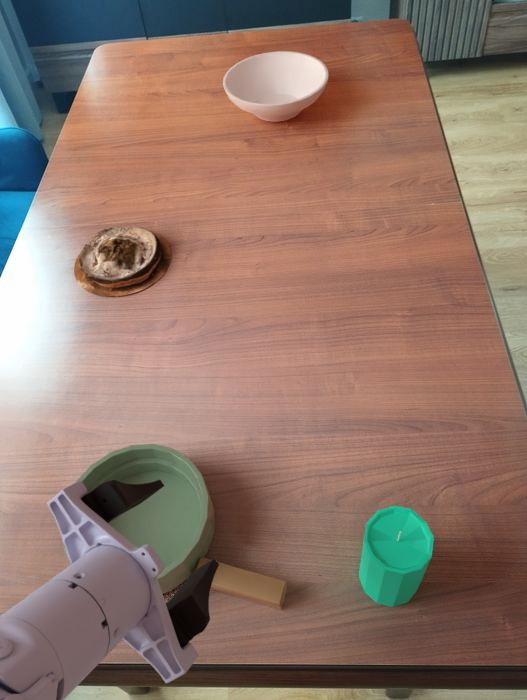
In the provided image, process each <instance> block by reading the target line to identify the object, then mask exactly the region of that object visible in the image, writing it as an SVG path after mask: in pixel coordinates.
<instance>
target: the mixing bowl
mask: <svg viewBox="0 0 527 700" xmlns="http://www.w3.org/2000/svg"><path fill="white" fill-rule="evenodd" d="M79 480H81V481H82V483H83V484H84V486H85V487H86V489H87V491H88V493H90V492H91V491H92V490H94V489H95V488H96V487H97V486H99V485H100V484H102V483H104V482H106V481H110V480H116V481H119V482H122V483H127V484H143V483H149V482H154V481H157V480H161V481H162V483H163V484H164V487H162V488H161V489H160V490H158V491H157V492H156V493H154V494H153V495H152V496H150V497H149V498H148V499H146V500H145V501H143V502H142V503H141V504H139V505H137V506H135V507H134V508H132V509H130V510H128V511H126V512H125V513H123V514H121V515H119V516H118V517H116V518H115V519H114V520H112V521H111V522H109V523H108V524H109V525H111V526H112V527H113V528H114V529H115V530H117V531H118V532H119V533H120V534H121V535H123V536H124V537H125V538H126V539H127V540H129V541H130V542H131V543H132V544H133V545H135V546H136V547H137V548H140V547H142V546H143V545H146V544H148V545H150V546H151V547H152V548H153V549H154V550H155V552H156V553H157V555H158V556H159V558H160V559H161V561H162V562H163V565H164V570H163V571H162V572H161V573H160V574H159V575H158V576H157V579H158V582H159V585H160V588H161V591H162V594H166V593H168V592H171V591H173V590H175V589H176V588H177V587H179V586H180V585H181V584H183V583H184V582H185V581H186V580H187V579H188V578H189V576H190V575H192V574H193V573H194V572H195V571H196V568H197V566H198V563H199V560H200V558H201V557H202V558H206V556H208V555H207V554H208V551H209V550H210V546H211V544H212V541H213V539H214V535H215V523H216V522H215V519H216V518H215V516H216V512H215V508H214V504H213V502H212V501H213V500H212V498H211V493H210V491H209V489H208V486H207V484H206V481H205V479H204V476H203V473H201V472H200V470H199V469H198V467H197V466H196V465H195V464H194V462H193V461H192V459H190V458H189V457H188V456H186V455H184V454H183V453H180V451H178V450H176V449H175V448H173V447H169V446H165V445H160V444H156V443H145V444H132V445H128V446H125V447H121V448H120V449H117V450H113V451H111V452H109V453H107V454H106V455H104V456H103V457H101V458H100V459H98V460H96V461H95V462H93V463H92V464H90V466H89V467H87V469H86V470H85V471H84V472H83V473H82V474H81V475H80V477H79V478H78V479H77V480H76V481H75V482H74V483H76V482H77V481H79ZM88 493H87V494H88ZM61 543H62V548H63V550H64V553H65V554H66V556H67V558H68V559H69V557H68V554H67V551H66V548H65V545H64V542H63V539H62V538H61Z"/></svg>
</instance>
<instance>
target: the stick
mask: <svg viewBox="0 0 527 700" xmlns="http://www.w3.org/2000/svg"><path fill="white" fill-rule="evenodd" d="M210 560H211V559H209V558H206V557H205V558H202V557H201V558H200V560H199V563H198V566H197V568H196V570H197V569H198V568H200V567H201V566H203V565H204V564H206V563H207V562H209V561H210ZM217 562H218V564H219V566H218V568H217V570H216V573H215V575H214V578H213V581H212V585H211V589H210V590H212V591H216V592H220V593H224V594H227V595H230V596H234V597H236V598H239V599H243V600H247V601H249V602H252V603H256V604H259V605H263V606H266V607H270V608H273V609H277V610H279V611H281V610H282V608H283V605H284V601H285V597H286V593H287V590H288V586H287V582H286V581H285V580H282V579H278V578H276V577H272V576H268V575H265V574H261V573H258V572H254V571H250V570H248V569H243V568H240V567H238V566H237V567H236V566H233V565H230V564H226V563H223V562H220V561H217ZM196 570H195V571H196Z"/></svg>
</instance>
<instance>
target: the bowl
mask: <svg viewBox="0 0 527 700" xmlns="http://www.w3.org/2000/svg"><path fill="white" fill-rule="evenodd" d="M329 76H330V75H329V69H328V67H327V66H326V64H325V63H324V62H323V61H322V60H321V59H319V58H318V57H315V56H314V55H311V54H308V53H303V52H299V51H290V50H278V51H268V52H262V53H259V54H255V55H251V56H249V57H246V58H244V59H242V60H240V61H239V62H236V63H235V64H234V65H232V66H231V67H230V68H229V69H227V71H226V73H224V76H223V80H222V85H223V89H224V91H225V94H226V95H227V97H228V98H229V100H230V101H231V102H232V103H233V104H234V105H235V106H236V107H237V108H239V109H240V110H242V111H244V112H246V113H248V114H252V115H254V116H255V117H256V118H258V119H259V120H262V121H264V122H265V121H266V122H272V123H273V122H274V123H275V122H282V121H289V120H290V119H294V118H295V117H297V116H298V115H299V114H300V113H301V112H302V111H303V110H305V109H306V108H308V107H310V106H312V105H313V104H314V103H315V102H316V101H317V100H318V99H319V98H320V97H321V95H322V93H323V92H324V91H325V89H326V86H327V83H328V81H329Z"/></svg>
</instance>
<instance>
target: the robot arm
mask: <svg viewBox="0 0 527 700" xmlns="http://www.w3.org/2000/svg"><path fill="white" fill-rule="evenodd" d="M76 481H77V480H76ZM76 481H75V482H76ZM75 482H74V483H72V484H70V485H68V486H66V487H65V488H63V489H61V490H60V491H59V492H57V493H56V494H55V495H54V496H53V497H51V498H50V499H49V500H48V501H46V505H47V508H48V509H49V510H50V513H51V514H52V517H53V518H54V520H55V522H56V525H57V528H58V531H59V533H60V536H61V540H62V539H63V542H64V545H65V548H66V551H67V554H68V556H67V558H68V557H69V558H68V561H69V563H70V565H68V566H67V567H66V568H64V569H63V570H61V571H60V572H58V573H57V574H55V576H53V577H51V578H50V579H49V580H48V581H46V582H44V583H43V584H42V585H41V586H39V587H38V588H36V589H34V591H32V592H31V593H29V594H28V595H27V596H26V597H24V598H23V599H22V600H20V601H18V603H16V604H14V605H13V606H12V607H10V608H9V609H8V610H6V611H5V612H4V613H3V614H1V615H0V700H65V699H66V698H67V697H68V696H69V695H70V694H71V693H72V692H73V691H74V690H75V689H76V688H77V687H78V686H79V685H80V684H81V683H82V681H84V680H85V678H87V677H88V676H89V675H90V674H91V672H92V671H93V670H95V668H96V667H98V666H99V664H100V663H101V662H102V661H103V660H104V659H105V658H106V657H107V656H108V655H109V654H111V652H112V651H113V650H114V649H115V647H117V646H118V644H119V643H120V642H121V641H122V640H123V641H124V642H125V643H126V644H127V645H128V646H129V647H131V648H132V649H133V650H134V651H135V652H136V653H137V654H138V655H140V657H141V658H143V659H144V660H145V661H146V662H147V663H148V664H149V665H150V666H151V667H152V668H153V669H154V670H155V671H156V672H157V673H158V674H159V676H160V678H161V679H162V680H163V682H164V683H165V684H169V683H171V682H173V681H174V680H176V679H179V678H180V677H181V676H183V675H185V674H186V673H187V672H188V671H189V669H190V668H191V667H192V666H193V664H194V662H195V661H196V660H197V659H198V657H199V656H200V654H199V652H198V651H197V650H196V648H195V646H194V645H193V644H192V643H190V641H191V640H193V639H194V638H195V637H196V636H198V635H200V634H201V633H202V632H204V631H205V630H206V629H207V627H208V625H209V623H210V620H211V616H210V605H209V604H210V593H211V590H212V589H211V585H212V581H213V578H214V575H215V573H216V570H217V568H218V566H219V564H218V562H219V561H218V560H217V559H216V557H214V558H212V559H209V560H210V561H209V562H207V563H206V564H204V565H203V566H201V567H200V568H198V569H197V570H195V571H194V573H193V574H192V575H190V576H189V578H187V579H186V580H185V581H184V582H183V583H182V585H181V586H180V587H179V588H178V589H177V591H176V592H175V594H173V595H172V597H170V598H169V600H168V601H166V600H165V597H164V595H163V594H164V593H163V594H162V591H161V588H160V585H159V582H158V579H157V576H158V575H159V574H160V573H161V572H162V571H163V570H164V565H163V562H162V561H161V559H160V558H159V556H158V555H157V553H156V552H155V550H154V549H153V548H152V547H151V546H150V545H148V544H146V545H143V546H142V547H140V548H137V547H136V546H135V545H133V544H132V543H131V542H130V541H129V540H127V539H126V538H125V537H124V536H123V535H121V534H120V533H119V532H118V531H117V530H115V529H114V528H113V527H112V526H111V525H109V524H108V523H109V522H111V521H112V520H114V519H115V518H116V517H118V516H119V515H121V514H123V513H125V512H126V511H128V510H130V509H132V508H134V507H135V506H137V505H139V504H141V503H142V502H143V501H145V500H146V499H148V498H149V497H150V496H152V495H153V494H154V493H156V492H157V491H158V490H160V489H161V488H162V487H164V484H163V483H162V481H161V480H157V481H154V482H149V483H143V484H127V483H122V482H119V481H116V480H110V481H106V482H104V483H102V484H100V485H99V486H97V487H96V488H95V489H94V490H92V491H91V492H90V493H88V491H87V489H86V487H85V486H84V484H83V483H82V481H81V480H79V481H77V482H76V483H75ZM87 493H88V494H87ZM67 554H66V555H67Z"/></svg>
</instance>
